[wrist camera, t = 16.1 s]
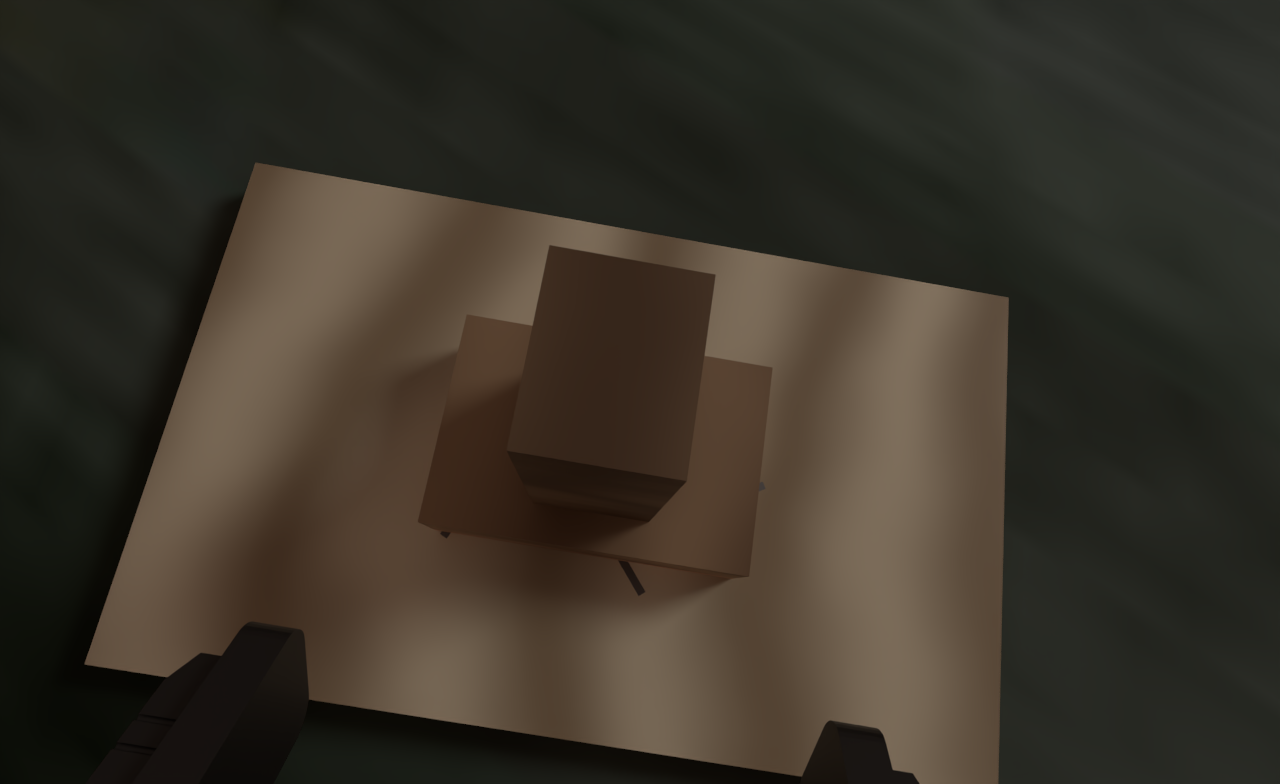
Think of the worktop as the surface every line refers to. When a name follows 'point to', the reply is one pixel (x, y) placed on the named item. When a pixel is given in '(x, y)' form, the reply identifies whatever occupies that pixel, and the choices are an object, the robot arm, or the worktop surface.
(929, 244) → the worktop surface
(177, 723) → the robot arm
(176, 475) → the birch board
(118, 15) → the worktop surface
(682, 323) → the block
